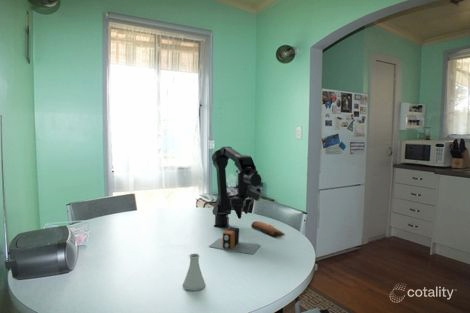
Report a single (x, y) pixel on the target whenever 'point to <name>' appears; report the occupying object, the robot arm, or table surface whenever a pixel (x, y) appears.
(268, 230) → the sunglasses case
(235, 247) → the rubber mat
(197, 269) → the flask
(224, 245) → the battery
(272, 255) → the table surface
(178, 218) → the table surface
